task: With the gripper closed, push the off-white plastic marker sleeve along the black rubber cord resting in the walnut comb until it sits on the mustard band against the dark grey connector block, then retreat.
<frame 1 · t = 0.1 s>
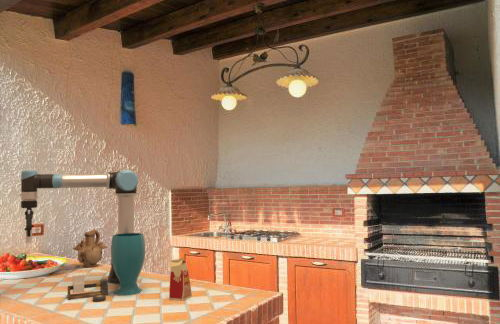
hand: (29, 241, 230), 28 cm above the countertop, fingers open, 13 cm apart
marker sleeve: (78, 283, 226), point 7 cm above the countertop, slide at 4.5 cm
vase: (128, 292, 235), on the countertop
ceramic vessel: (88, 267, 308), on the countertop
milk carton: (179, 298, 222), on the countertop
cord comb: (87, 295, 228), on the countertop
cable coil: (99, 300, 219), on the countertop
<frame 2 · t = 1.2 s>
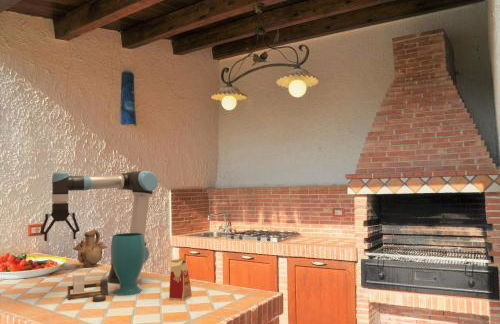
hand: (60, 246, 223), 26 cm above the countertop, fingers open, 11 cm apart
nothing on the countertop moved.
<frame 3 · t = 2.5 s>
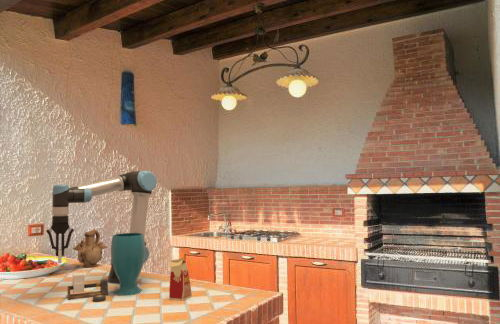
hand: (59, 262, 223), 18 cm above the countertop, fingers closed
nothing on the countertop moved.
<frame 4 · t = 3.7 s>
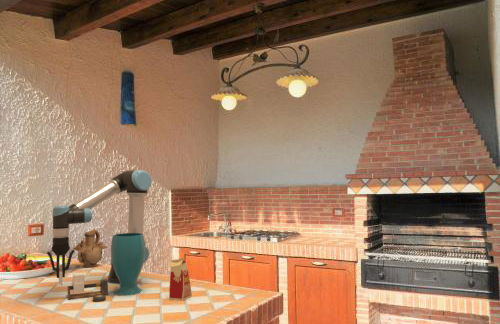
hand: (60, 284, 223), 7 cm above the countertop, fingers closed
nothing on the countertop moved.
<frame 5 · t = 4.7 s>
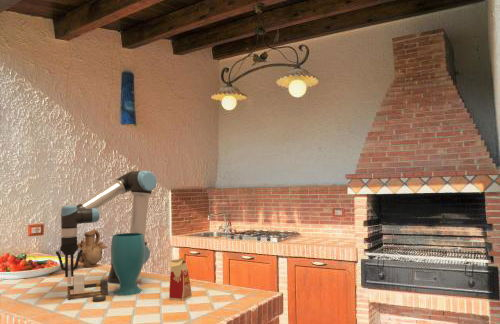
hand: (69, 283, 225), 7 cm above the countertop, fingers closed
marker sleeve: (78, 283, 226), point 7 cm above the countertop, slide at 4.4 cm, touching gripper
everything else where it was.
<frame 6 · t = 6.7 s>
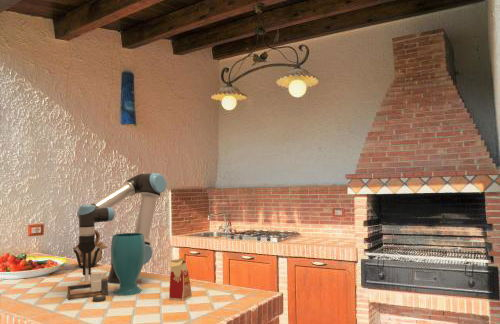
hand: (86, 281, 228), 7 cm above the countertop, fingers closed
marker sleeve: (95, 281, 230), point 7 cm above the countertop, slide at -3.9 cm, touching gripper
everything else where it was.
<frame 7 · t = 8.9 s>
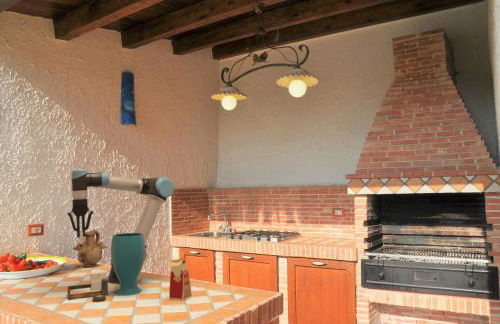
hand: (81, 243, 235), 26 cm above the countertop, fingers closed
marker sleeve: (95, 281, 230), point 7 cm above the countertop, slide at -3.9 cm
everything else where it was.
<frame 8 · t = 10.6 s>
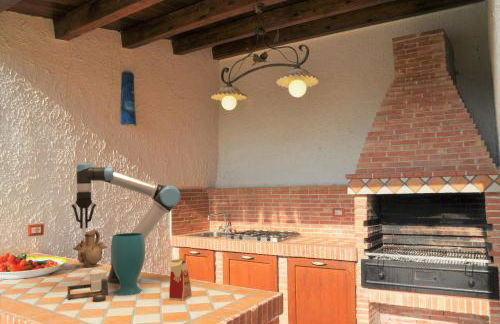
hand: (83, 234, 245), 29 cm above the countertop, fingers closed
nothing on the countertop moved.
at the end: marker sleeve slide at -3.9 cm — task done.
